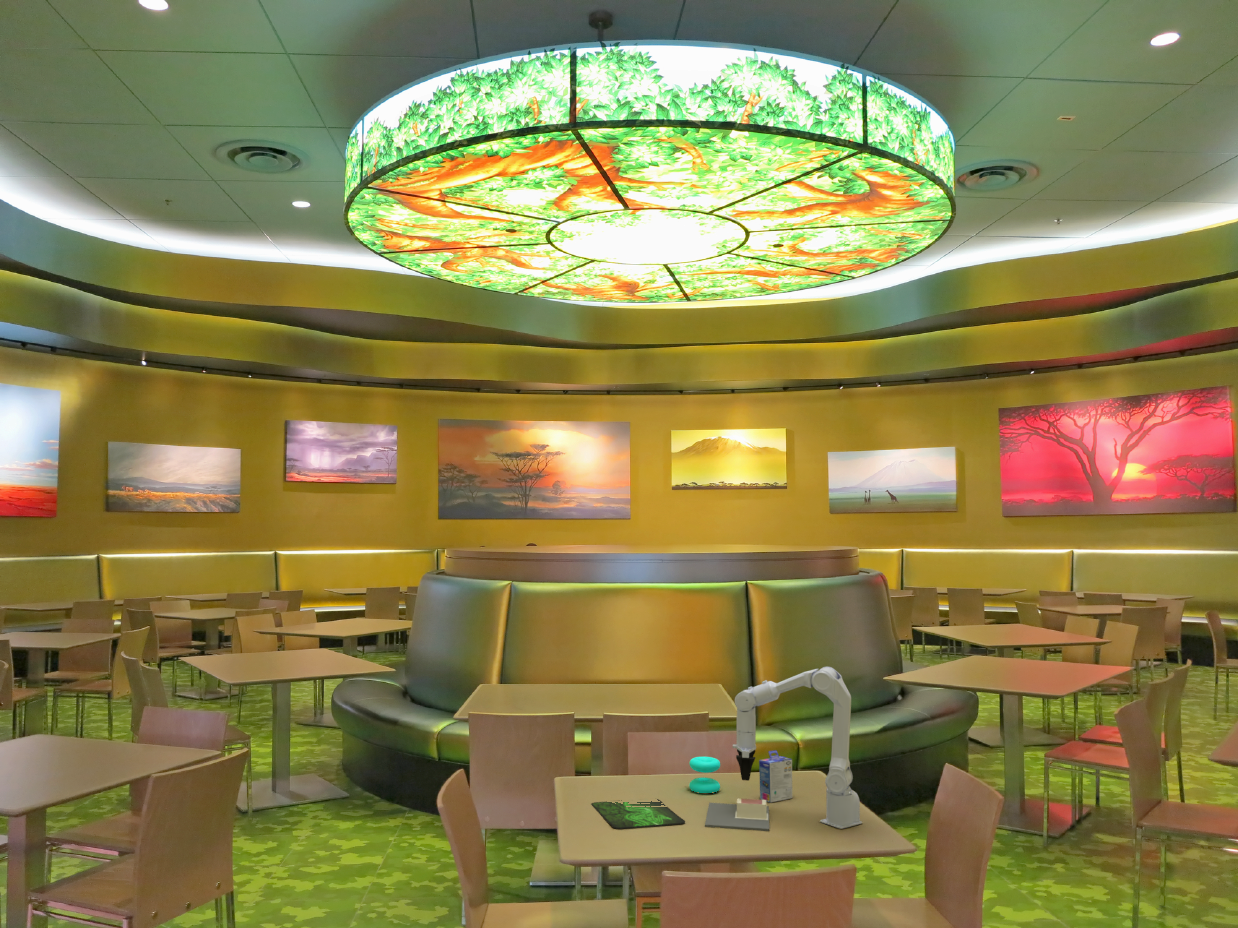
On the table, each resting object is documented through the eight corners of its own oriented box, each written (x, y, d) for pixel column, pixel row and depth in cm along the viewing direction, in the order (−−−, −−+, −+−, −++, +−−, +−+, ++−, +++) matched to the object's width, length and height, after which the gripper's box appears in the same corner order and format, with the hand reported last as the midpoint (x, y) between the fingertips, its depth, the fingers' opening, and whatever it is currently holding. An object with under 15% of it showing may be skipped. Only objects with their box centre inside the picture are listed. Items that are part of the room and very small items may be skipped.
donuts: (687, 761, 292) (691, 754, 302) (686, 793, 292) (691, 785, 301) (718, 763, 290) (722, 756, 300) (718, 796, 289) (721, 787, 299)
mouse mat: (588, 803, 280) (588, 800, 280) (656, 798, 286) (656, 795, 286) (614, 831, 254) (614, 827, 254) (687, 825, 260) (687, 821, 260)
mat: (768, 808, 277) (768, 805, 277) (769, 830, 256) (769, 828, 256) (709, 804, 280) (709, 802, 280) (704, 826, 258) (704, 824, 258)
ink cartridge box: (781, 794, 293) (781, 748, 294) (793, 798, 288) (793, 751, 289) (758, 798, 287) (758, 751, 288) (770, 803, 283) (770, 755, 284)
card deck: (737, 811, 270) (737, 797, 271) (766, 813, 269) (766, 799, 269) (736, 817, 265) (736, 802, 266) (766, 818, 264) (766, 804, 264)
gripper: (733, 725, 284) (733, 769, 283) (732, 735, 270) (731, 782, 269) (756, 726, 283) (756, 771, 282) (756, 736, 269) (755, 783, 268)
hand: (745, 776), depth 275 cm, fingers open, 7 cm apart
